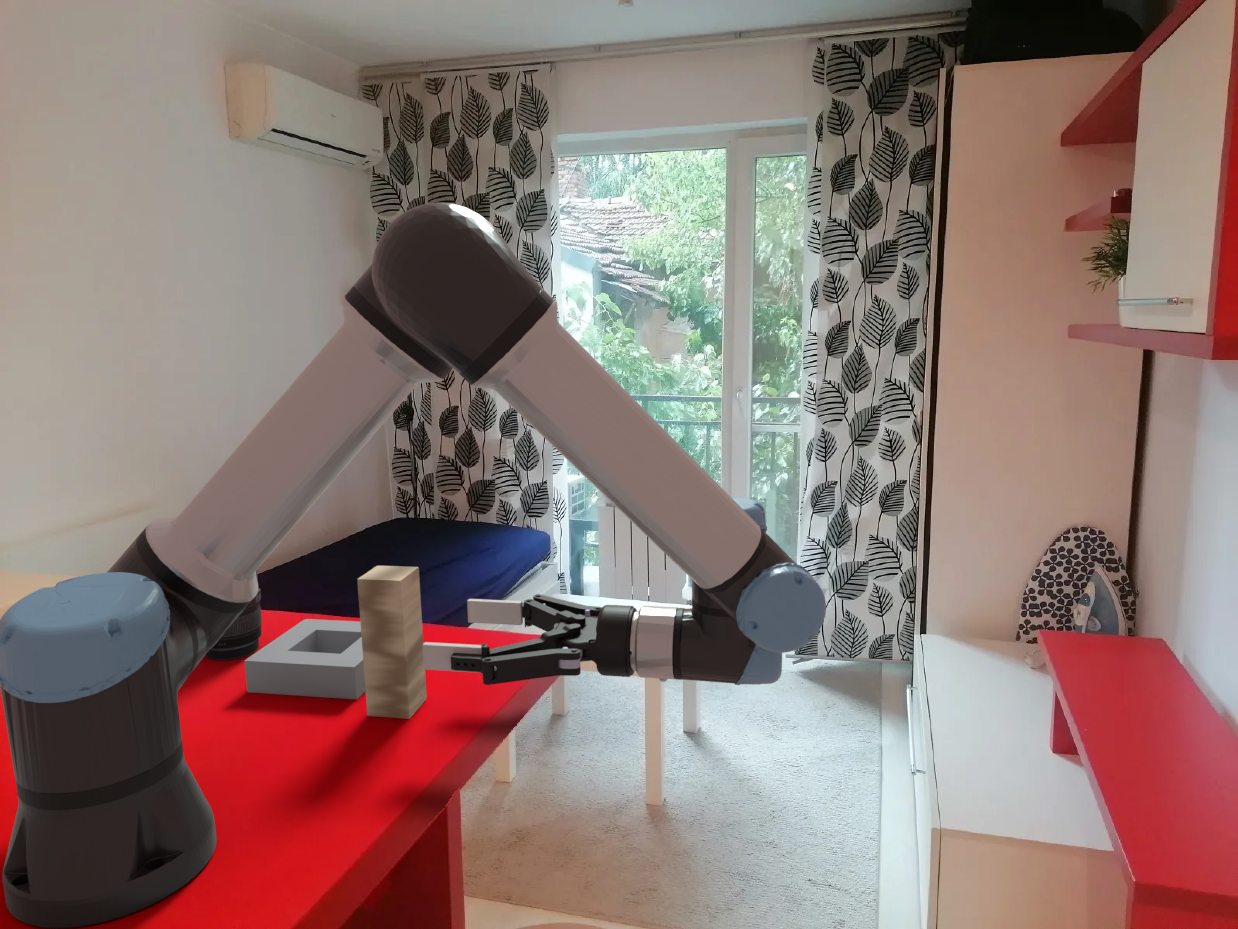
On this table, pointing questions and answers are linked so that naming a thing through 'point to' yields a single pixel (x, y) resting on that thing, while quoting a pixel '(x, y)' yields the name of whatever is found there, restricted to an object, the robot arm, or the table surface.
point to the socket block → (311, 661)
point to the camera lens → (240, 634)
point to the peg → (392, 641)
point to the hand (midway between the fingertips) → (447, 631)
